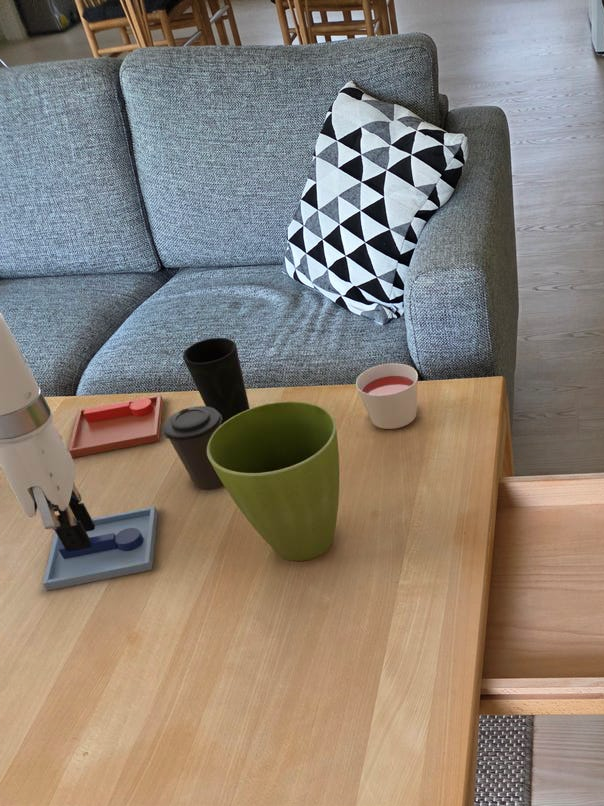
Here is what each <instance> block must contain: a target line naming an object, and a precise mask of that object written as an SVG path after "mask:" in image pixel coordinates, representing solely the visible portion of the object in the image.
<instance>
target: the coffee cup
mask: <svg viewBox="0 0 604 806" xmlns="http://www.w3.org/2000/svg"><path fill="white" fill-rule="evenodd" d="M221 422H222V415H221V414H220V413H219V412H218V411H217V410H216V409H214V408H212V407H207V406H205V405H198V406H197V405H196V406H191V407H187V408H183V409H181V410H178V411H176V412H174V413H173V414H171V415H170V416H168V417H167V419H166V420H165V421H164V422H163V425H162V435H163V436H164V437H165V438H166V439H167V440H169V441H170V444H171V445H172V446H173V449H174V451H175V452H176V454H177V456H178V458H179V459H180V461H181V463H182V465H183V466H184V468H185V470H186V472H187V474H188V476H189V477H190V479H191V481H192V483H193V485H194V486H195V487H196V488H197V489H199V490H215V489H218V488H220V487H224V485H223V483H222V481H221V480H220V478H219V476H218V475H217V473H216V471H215V469H214V468H213V466H212V464H211V462H210V460H209V458H208V456H207V446H208V442H209V440H210V438H211V436H212V434H213V433H214V432H215V431H216V429H217V428H218V427H219V426H221Z"/></svg>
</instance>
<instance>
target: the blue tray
mask: <svg viewBox="0 0 604 806" xmlns="http://www.w3.org/2000/svg"><path fill="white" fill-rule="evenodd" d="M157 510H158V509H157V508H156V506H149V507H143V508H139V509H134V510H128V511H124V512H118V513H113V514H108V515H102V516H98V517H93V518H92V517H91V519H92V521H93V523H94V524H95V529H94V530H92V531H88V532H86V533H87V535H88V536H89V538H90V537H95V536H100V535H106V534H111V533H114V534H115V536H116V534H117V533H119V532H120V531H122V530H124V529H127V528H137V529H139V530H140V532H141V534H142V536H143V539H144V540H143V543H142V544H141V545H140V546H139V547H138V548H136V549H134V550H130V551H122V550H120V549H118V548H117V549H112V550H107V551H102V552H97V553H92V554H86V555H81V556H76V557H71V558H66V559H63V557H62V555H61V553H60V552H59V545H60V543H62V542H61V540H60V539H59V537H58V535H57V533H56V532H55V531H54V534H53V539H52V543H51V547H50V551H49V555H48V561H47V564H46V568H45V571H44V577H43V581H42V585H43V587H44V589H45V590H46V591H53V590H57V589H62V588H67V587H71V586H77V585H78V586H79V585H82V584H88V583H92V582H97V581H102V580H108V579H113V578H117V577H122V576H127V575H133V574H137V573H143V572H148V571H152V570H153V565H154V564H153V563H154V556H155V555H154V554H155V545H156V535H157V527H158V518H159V517H158V515H159V512H158V511H157Z"/></svg>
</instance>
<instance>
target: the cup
mask: <svg viewBox="0 0 604 806" xmlns="http://www.w3.org/2000/svg"><path fill="white" fill-rule="evenodd" d="M182 360H183V362H184V364H185V366H186V367H187V370H188V372H189V374H190V377H191V379H192V380H193V382H194V385H195V386H196V389H197V392H198V393H199V395H200V397H201V399H202V401H203V404H204V406H207V407H212V408H214V409H216V410H217V411H218V412H219V413H220V414H221V415H222V422H221V425H222V424H223V423H224V422H226V421H227V420H229V419H230V418H232V417H234V416H235V415H237V414H239V413H241V412H244V411H246V410H248V409H251V408H250V403H249V399H248V395H247V390H246V385H245V380H244V376H243V371H242V367H241V362H240V356H239V354H238V348H237V343H236V342H235V341H234V340H231V339H229V338H226V337H214V338H213V337H212V338H207V339H203V340H200V341H198V342H195V343H193V344H191V345H190V346H189V347H187V348H185V350H184V352H183V354H182Z"/></svg>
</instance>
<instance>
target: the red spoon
mask: <svg viewBox="0 0 604 806" xmlns="http://www.w3.org/2000/svg"><path fill="white" fill-rule="evenodd" d="M141 398H142V399H140V398H137V399H138V400H135V399H134V400H135V401H133V402H132V403H131V404H130V402H124V401H122V402H123V403H119V402H117V403H118V404H113V403H112V404H113V405H108V404H106V405H107V406H102V405H101V406H102V407H97V406H95V407H96V408H92V407H90V408H91V409H86V408H85V409H86V410H84V416H85V418H86V420H87V423H90V422H95V421H100V420H106V419H111V418H117V417H122V416H127V415H132V414H133V415H134V416H144V415H147V414H149V413H150V412H152V411H153V405H152V403H151V400H150V399H147V398H146V397H141Z"/></svg>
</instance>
